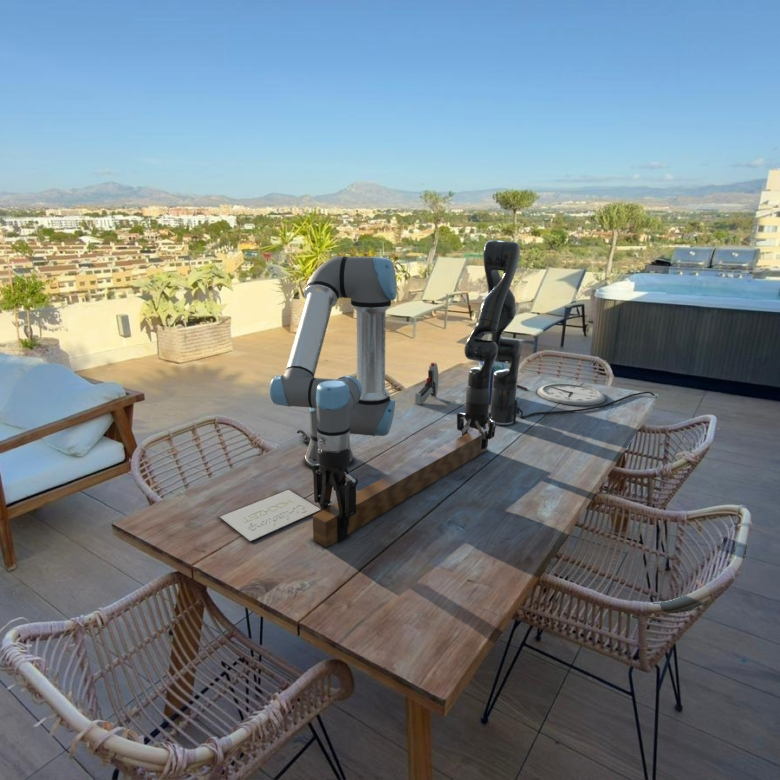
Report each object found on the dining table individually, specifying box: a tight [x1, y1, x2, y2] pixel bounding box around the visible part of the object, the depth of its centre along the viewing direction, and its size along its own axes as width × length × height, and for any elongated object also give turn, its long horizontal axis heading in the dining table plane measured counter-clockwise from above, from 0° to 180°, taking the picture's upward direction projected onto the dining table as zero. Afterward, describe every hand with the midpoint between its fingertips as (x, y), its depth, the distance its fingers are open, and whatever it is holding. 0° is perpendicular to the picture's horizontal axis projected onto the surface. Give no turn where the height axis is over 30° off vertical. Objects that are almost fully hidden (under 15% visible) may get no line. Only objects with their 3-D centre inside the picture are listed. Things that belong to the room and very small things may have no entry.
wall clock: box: [537, 383, 606, 407], centre depth 241 cm, size 30×2×30 cm
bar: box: [312, 428, 488, 548], centre depth 152 cm, size 76×4×7 cm, turn 140°
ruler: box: [517, 384, 528, 391], centre depth 253 cm, size 15×1×1 cm, turn 34°
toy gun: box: [414, 362, 439, 406], centre depth 228 cm, size 2×16×15 cm
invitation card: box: [219, 489, 321, 542], centre depth 138 cm, size 21×1×15 cm
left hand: (335, 534), depth 129 cm, fingers closed on bar, 4 cm apart
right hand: (474, 445), depth 177 cm, fingers open, 6 cm apart
